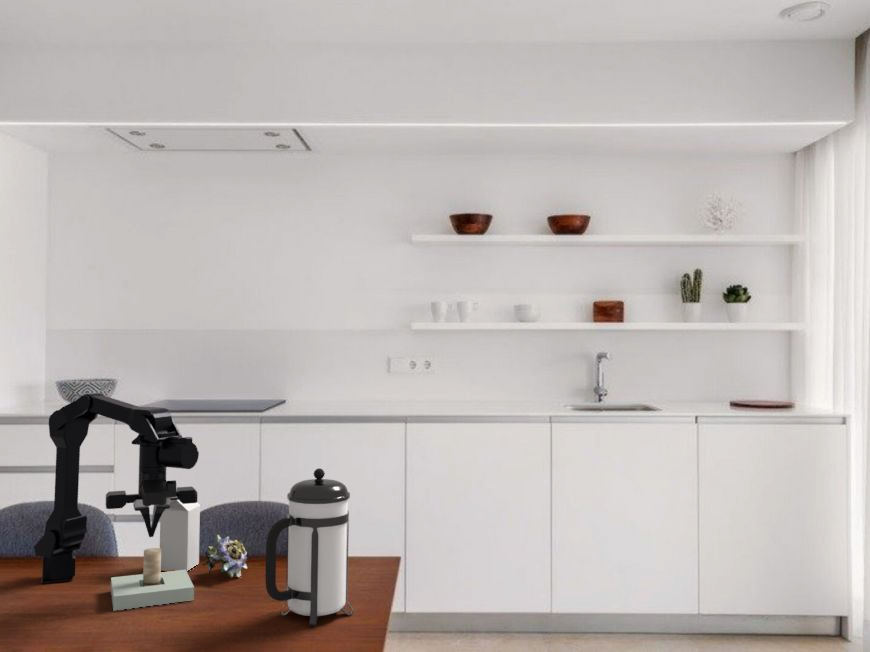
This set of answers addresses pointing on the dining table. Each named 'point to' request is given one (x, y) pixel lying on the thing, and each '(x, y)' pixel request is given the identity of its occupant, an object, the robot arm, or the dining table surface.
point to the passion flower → (227, 556)
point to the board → (151, 590)
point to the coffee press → (313, 549)
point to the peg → (152, 567)
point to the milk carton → (180, 536)
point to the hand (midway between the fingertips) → (151, 536)
